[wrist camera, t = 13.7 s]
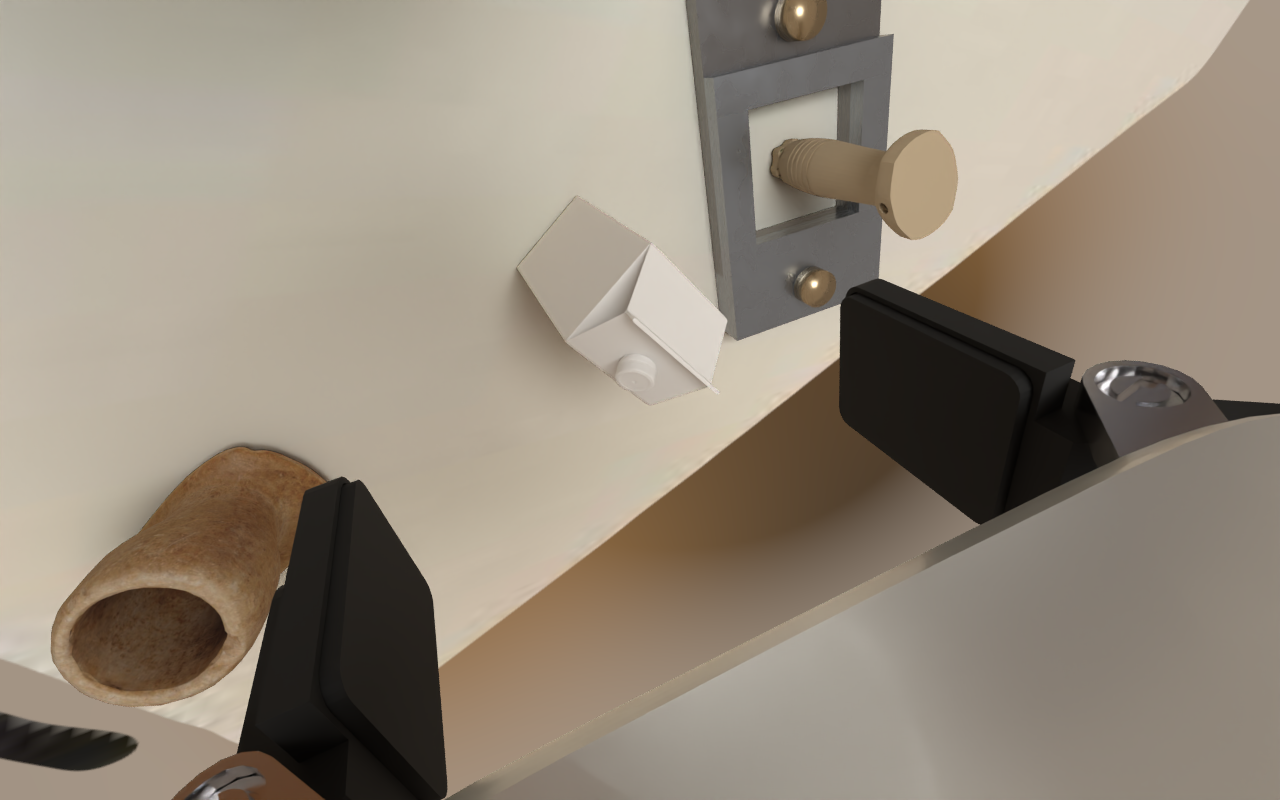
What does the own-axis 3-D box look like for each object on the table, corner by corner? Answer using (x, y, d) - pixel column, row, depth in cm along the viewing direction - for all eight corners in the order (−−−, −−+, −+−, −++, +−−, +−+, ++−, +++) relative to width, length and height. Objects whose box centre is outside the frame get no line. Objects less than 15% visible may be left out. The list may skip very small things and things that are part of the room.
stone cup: (208, 404, 39) (125, 551, 27) (359, 483, 46) (346, 628, 34) (70, 548, 40) (-69, 750, 28) (237, 604, 47) (183, 786, 35)
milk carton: (576, 193, 41) (684, 261, 26) (639, 255, 46) (764, 345, 30) (515, 267, 42) (584, 374, 27) (582, 321, 46) (675, 440, 31)
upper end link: (694, 78, 41) (724, 77, 37) (865, 36, 44) (909, 32, 40) (721, 328, 52) (746, 347, 48) (856, 280, 55) (889, 295, 51)
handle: (796, 105, 44) (948, 114, 32) (819, 178, 48) (963, 209, 36) (747, 141, 44) (881, 163, 32) (774, 210, 48) (903, 254, 36)
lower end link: (684, -15, 38) (704, -22, 35) (869, -53, 41) (900, -61, 38) (715, 272, 49) (732, 283, 46) (858, 225, 52) (882, 233, 49)
